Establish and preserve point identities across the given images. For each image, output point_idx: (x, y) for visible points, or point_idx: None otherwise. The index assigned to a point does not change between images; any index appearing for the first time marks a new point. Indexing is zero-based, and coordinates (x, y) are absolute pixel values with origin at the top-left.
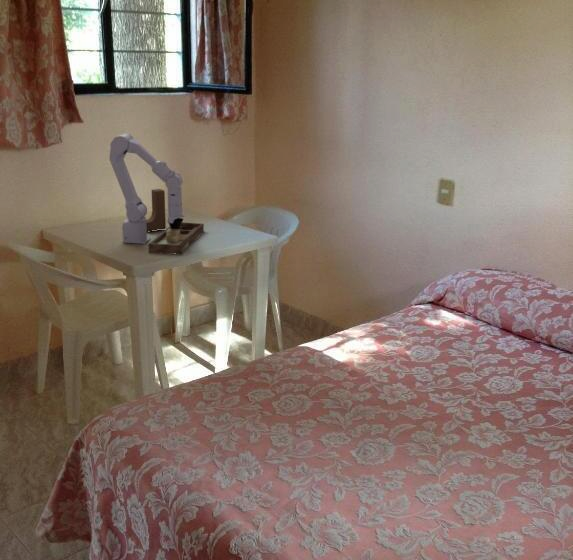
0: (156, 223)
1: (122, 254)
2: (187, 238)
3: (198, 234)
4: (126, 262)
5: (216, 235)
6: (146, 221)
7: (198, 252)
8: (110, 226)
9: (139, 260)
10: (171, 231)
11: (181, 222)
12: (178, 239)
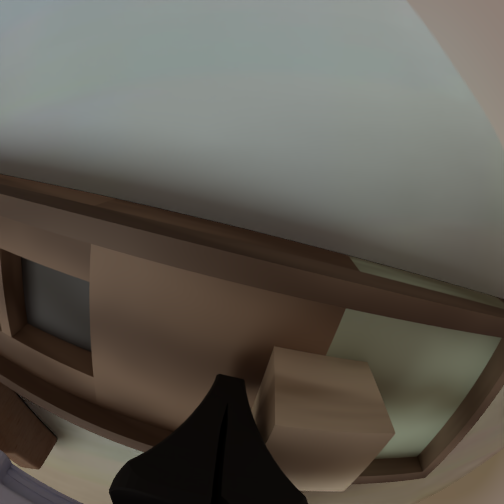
0: (8, 429)
1: (401, 493)
2: (378, 296)
3: (27, 184)
4: (489, 455)
5: (22, 57)
6: (27, 466)
7: (497, 182)
8: (49, 486)
9: (493, 434)
10: (363, 467)
11: (181, 465)
12: (334, 367)
